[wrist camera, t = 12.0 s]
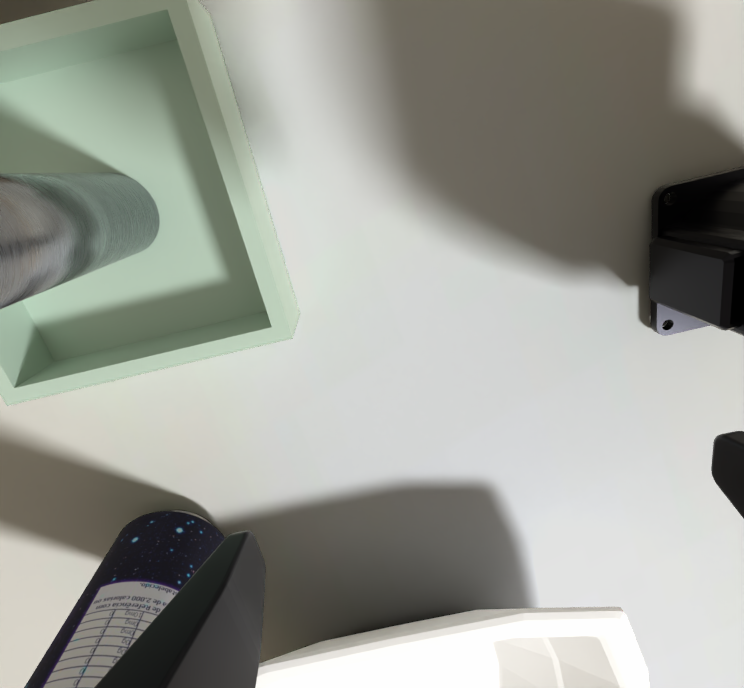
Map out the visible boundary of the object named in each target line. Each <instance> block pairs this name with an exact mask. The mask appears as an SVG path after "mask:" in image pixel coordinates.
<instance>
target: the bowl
mask: <svg viewBox="0 0 744 688" xmlns="http://www.w3.org/2000/svg"><path fill="white" fill-rule="evenodd" d="M255 688H650V684H649V674H648V669H647V666H646V664H645V661H644V659H643V656H642V653H641V651H640V648H639V646H638V643H637V641H636V638H635V635H634V633H633V630H632V628H631V625H630V623H629V620H628V618H627V615H626V614H625V612H624V611H623V610H622V609H621V608H619V607H567V608H519V609H486V610H472V611H467V612H462V613H457V614H452V615H447V616H442V617H437V618H432V619H427V620H422V621H417V622H412V623H407V624H402V625H397V626H392V627H387V628H382V629H378V630H373V631H368V632H364V633H359V634H354V635H349V636H345V637H340V638H335V639H330V640H326V641H321V642H318V643H315V644H312V645H310V646H307V647H304V648H301V649H298V650H296V651H293V652H290V653H287V654H284V655H282V656H279V657H276V658H273V659H270V660H268V661H265V662H262V663H260V664H259V668H258V675H257V681H256V687H255Z"/></svg>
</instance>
